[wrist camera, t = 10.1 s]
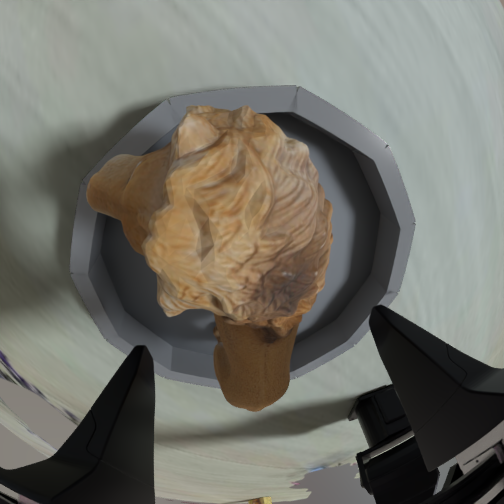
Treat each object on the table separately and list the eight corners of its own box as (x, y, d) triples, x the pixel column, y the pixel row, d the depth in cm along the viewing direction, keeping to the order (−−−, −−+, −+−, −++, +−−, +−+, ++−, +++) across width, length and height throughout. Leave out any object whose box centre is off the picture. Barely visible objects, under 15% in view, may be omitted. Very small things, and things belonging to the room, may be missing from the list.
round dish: (363, 332, 20) (376, 356, 18) (147, 368, 18) (143, 396, 16) (394, 95, 11) (427, 99, 9) (56, 134, 10) (27, 144, 7)
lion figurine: (142, 122, 10) (-4, 185, 2) (266, 93, 10) (410, 82, 2) (221, 353, 18) (237, 481, 10) (298, 336, 18) (341, 457, 10)
